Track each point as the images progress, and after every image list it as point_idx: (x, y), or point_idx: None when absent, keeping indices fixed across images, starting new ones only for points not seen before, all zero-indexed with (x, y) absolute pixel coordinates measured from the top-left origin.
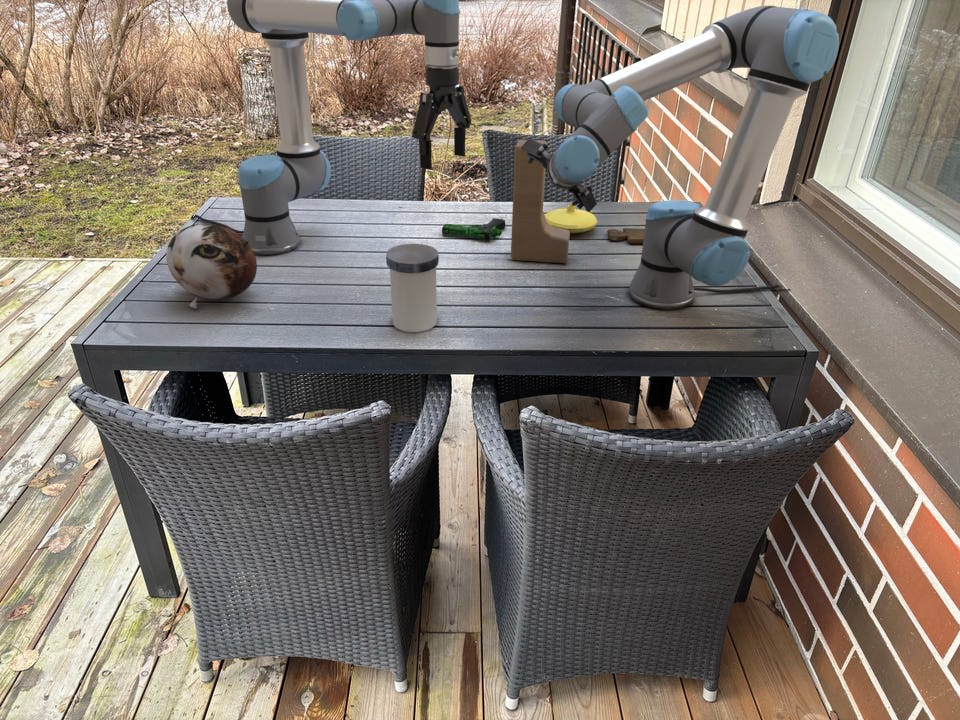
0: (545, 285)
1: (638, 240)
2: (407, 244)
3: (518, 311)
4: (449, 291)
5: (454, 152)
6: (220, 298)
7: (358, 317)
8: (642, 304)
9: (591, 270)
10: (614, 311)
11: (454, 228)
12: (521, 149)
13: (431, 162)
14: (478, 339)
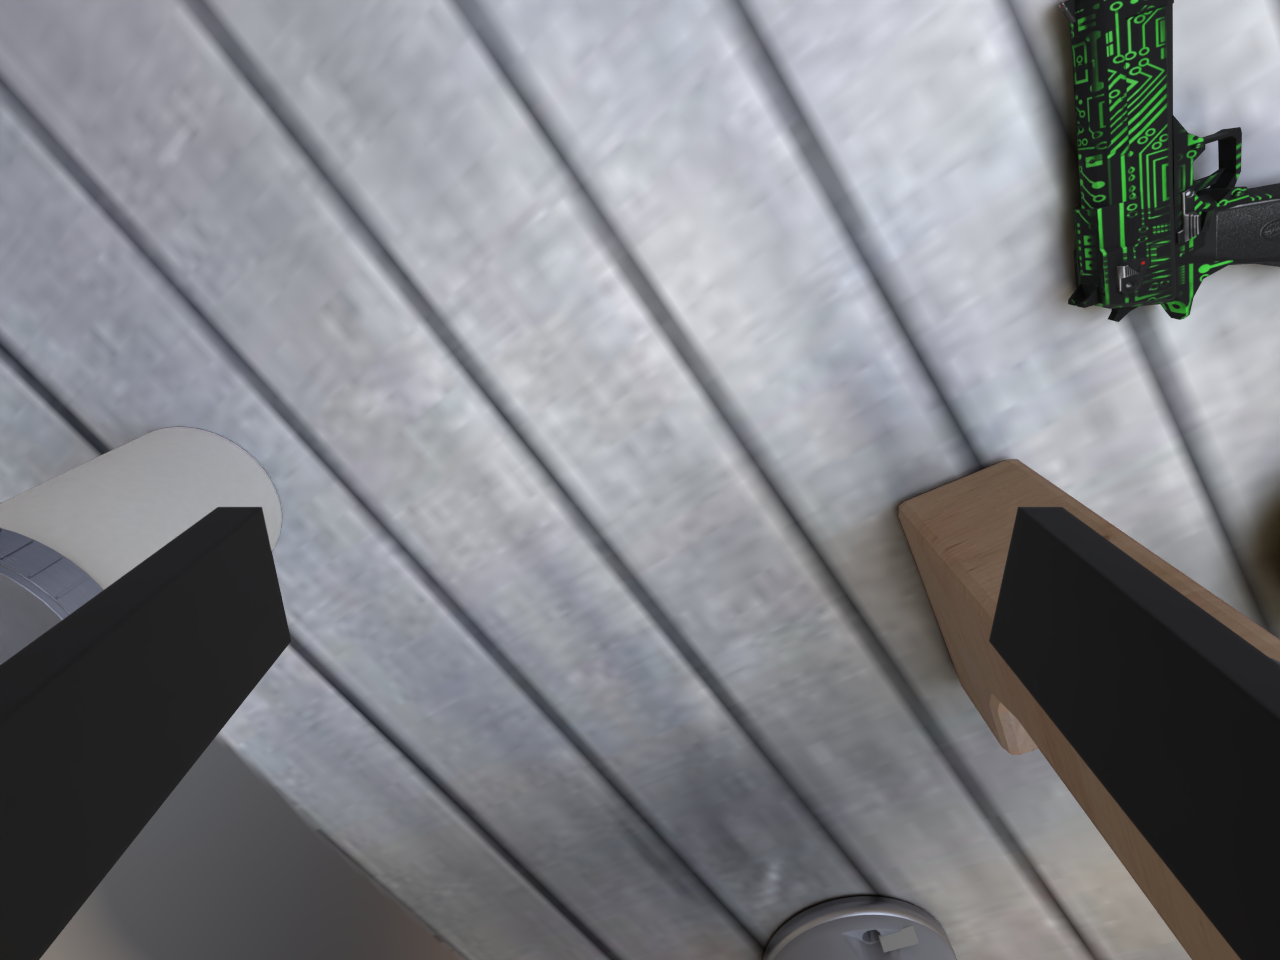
0: (744, 701)
1: None
2: (8, 584)
3: (509, 722)
4: (481, 461)
5: (1037, 525)
6: None
7: (47, 307)
8: (766, 949)
9: (951, 763)
10: (687, 908)
11: (1109, 66)
12: None
13: (246, 692)
14: (272, 718)
